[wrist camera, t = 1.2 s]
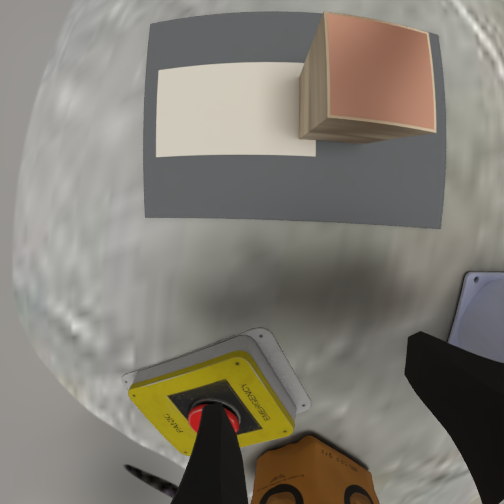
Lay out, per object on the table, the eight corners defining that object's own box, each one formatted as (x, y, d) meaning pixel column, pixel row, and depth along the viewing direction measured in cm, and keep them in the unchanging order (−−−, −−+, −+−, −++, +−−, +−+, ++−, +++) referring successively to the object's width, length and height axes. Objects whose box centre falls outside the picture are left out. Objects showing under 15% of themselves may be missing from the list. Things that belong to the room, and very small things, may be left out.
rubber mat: (436, 36, 15) (438, 34, 14) (438, 228, 18) (441, 229, 18) (152, 25, 17) (149, 23, 16) (146, 216, 20) (144, 217, 20)
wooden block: (362, 83, 16) (428, 32, 8) (363, 144, 17) (436, 132, 9) (299, 77, 16) (324, 11, 8) (299, 139, 18) (327, 117, 9)
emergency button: (317, 440, 20) (163, 469, 23) (314, 403, 24) (175, 438, 27) (262, 353, 18) (99, 401, 21) (267, 319, 22) (120, 372, 25)
